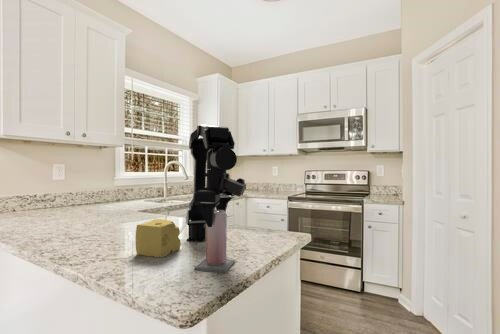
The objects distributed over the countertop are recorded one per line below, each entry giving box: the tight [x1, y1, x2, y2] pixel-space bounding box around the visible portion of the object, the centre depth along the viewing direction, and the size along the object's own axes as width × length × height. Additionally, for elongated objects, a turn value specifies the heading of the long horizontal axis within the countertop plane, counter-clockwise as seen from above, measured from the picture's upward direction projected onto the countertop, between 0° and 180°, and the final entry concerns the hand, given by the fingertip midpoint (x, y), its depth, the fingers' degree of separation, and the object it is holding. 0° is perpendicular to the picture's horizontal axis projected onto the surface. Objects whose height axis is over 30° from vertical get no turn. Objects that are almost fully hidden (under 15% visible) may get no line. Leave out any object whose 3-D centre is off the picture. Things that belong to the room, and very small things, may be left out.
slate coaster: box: [194, 258, 236, 274], centre depth 80 cm, size 9×9×1 cm
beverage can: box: [205, 209, 228, 266], centre depth 80 cm, size 6×6×15 cm
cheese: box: [135, 218, 181, 258], centre depth 92 cm, size 10×11×10 cm
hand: (216, 223), depth 80 cm, fingers open, 9 cm apart
